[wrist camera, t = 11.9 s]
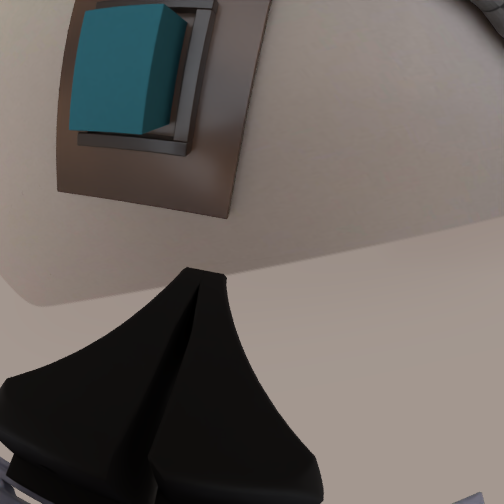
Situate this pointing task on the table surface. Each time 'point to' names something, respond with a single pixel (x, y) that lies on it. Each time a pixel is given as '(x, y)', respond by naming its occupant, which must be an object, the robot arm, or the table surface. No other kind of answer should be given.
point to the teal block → (126, 69)
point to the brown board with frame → (172, 115)
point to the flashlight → (493, 12)
